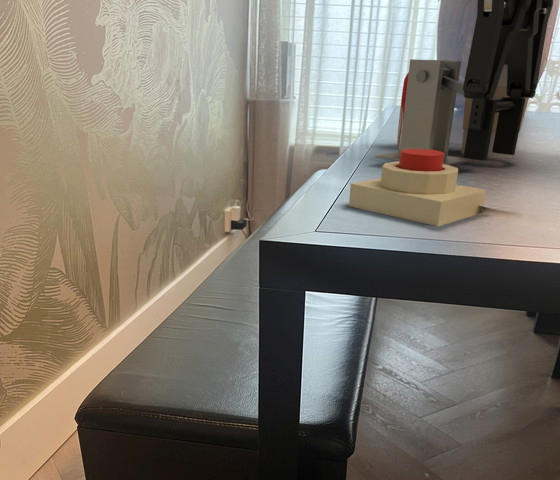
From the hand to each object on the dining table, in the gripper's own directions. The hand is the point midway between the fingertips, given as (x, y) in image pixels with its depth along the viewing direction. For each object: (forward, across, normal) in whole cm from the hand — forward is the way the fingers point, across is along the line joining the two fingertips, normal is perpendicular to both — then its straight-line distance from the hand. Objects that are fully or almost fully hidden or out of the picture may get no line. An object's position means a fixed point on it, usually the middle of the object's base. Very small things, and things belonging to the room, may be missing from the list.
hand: (489, 155), depth 75 cm
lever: (-6, 0, -5) cm, 8 cm away
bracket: (+2, 0, -9) cm, 10 cm away
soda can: (+3, -8, -15) cm, 18 cm away
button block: (+2, +23, +5) cm, 24 cm away
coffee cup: (+3, -12, -6) cm, 14 cm away
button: (-1, +23, +5) cm, 23 cm away
